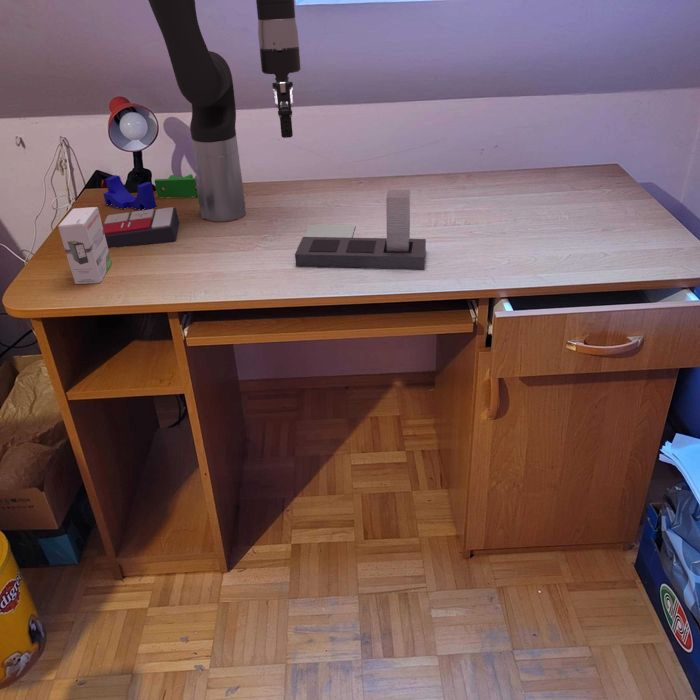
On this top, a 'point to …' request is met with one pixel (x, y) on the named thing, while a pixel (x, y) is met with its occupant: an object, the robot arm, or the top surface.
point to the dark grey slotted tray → (357, 253)
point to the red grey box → (141, 227)
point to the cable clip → (129, 195)
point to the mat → (330, 231)
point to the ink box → (85, 245)
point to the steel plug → (398, 221)
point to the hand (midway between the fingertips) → (286, 133)
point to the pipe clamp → (176, 186)
